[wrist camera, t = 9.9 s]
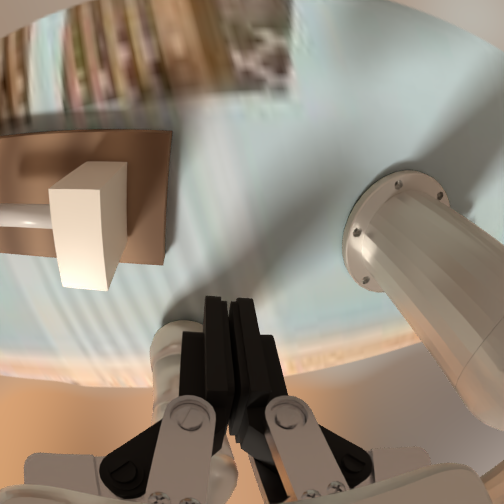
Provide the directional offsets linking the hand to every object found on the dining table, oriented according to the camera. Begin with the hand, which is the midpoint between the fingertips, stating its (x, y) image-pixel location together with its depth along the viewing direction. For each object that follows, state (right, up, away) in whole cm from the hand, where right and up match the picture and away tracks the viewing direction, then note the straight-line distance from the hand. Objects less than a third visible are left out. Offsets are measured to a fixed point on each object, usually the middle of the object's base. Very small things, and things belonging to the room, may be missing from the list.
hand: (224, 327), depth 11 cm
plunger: (-13, +6, +8) cm, 16 cm away
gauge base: (-18, +8, +8) cm, 21 cm away
